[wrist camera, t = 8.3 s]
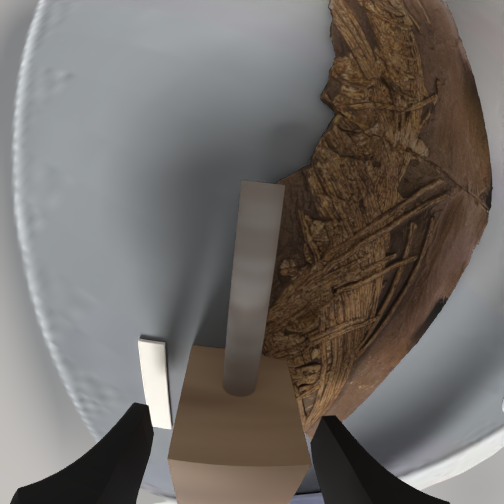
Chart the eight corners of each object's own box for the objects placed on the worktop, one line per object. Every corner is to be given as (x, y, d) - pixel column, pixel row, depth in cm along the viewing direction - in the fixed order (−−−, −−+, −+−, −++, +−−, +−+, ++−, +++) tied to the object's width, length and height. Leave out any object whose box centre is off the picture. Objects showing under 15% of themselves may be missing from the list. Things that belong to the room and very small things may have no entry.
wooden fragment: (337, -48, 7) (343, -59, 6) (497, 53, 8) (508, 50, 7) (201, 423, 14) (200, 437, 12) (369, 433, 15) (374, 444, 14)
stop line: (172, 426, 13) (171, 429, 13) (151, 423, 13) (150, 425, 13) (165, 342, 12) (164, 345, 11) (139, 338, 11) (137, 340, 11)
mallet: (268, 423, 13) (279, 517, 8) (193, 418, 13) (180, 513, 7) (312, 187, 10) (396, 209, 4) (201, 175, 10) (152, 179, 4)
